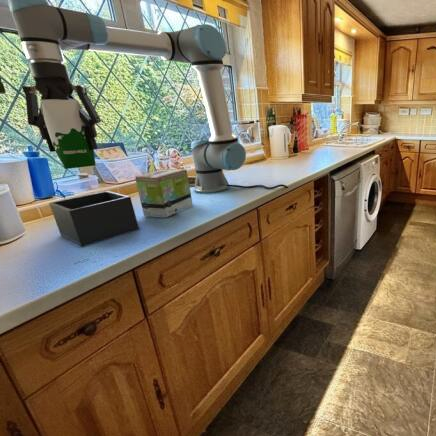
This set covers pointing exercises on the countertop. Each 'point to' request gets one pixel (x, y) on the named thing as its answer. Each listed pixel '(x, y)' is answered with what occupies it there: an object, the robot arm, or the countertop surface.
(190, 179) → the toy sandwich meal
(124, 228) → the waste bin
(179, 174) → the tea box
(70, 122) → the soya milk
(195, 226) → the countertop surface
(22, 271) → the countertop surface
